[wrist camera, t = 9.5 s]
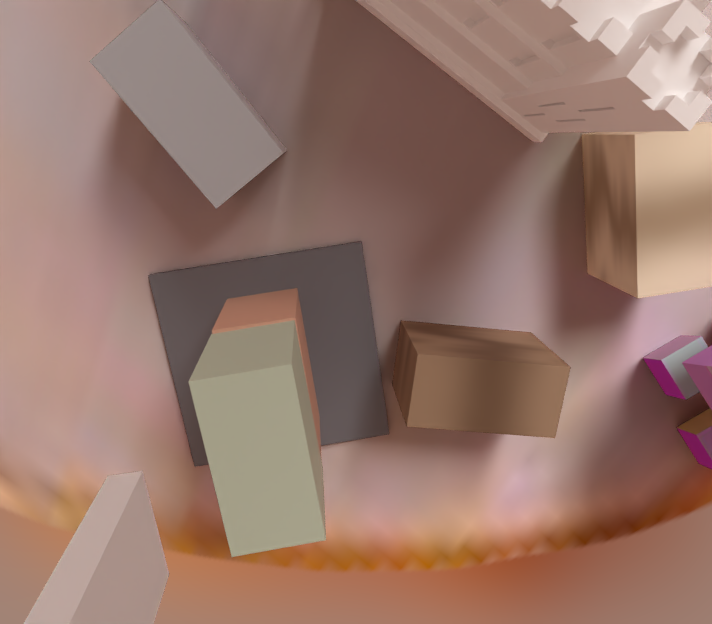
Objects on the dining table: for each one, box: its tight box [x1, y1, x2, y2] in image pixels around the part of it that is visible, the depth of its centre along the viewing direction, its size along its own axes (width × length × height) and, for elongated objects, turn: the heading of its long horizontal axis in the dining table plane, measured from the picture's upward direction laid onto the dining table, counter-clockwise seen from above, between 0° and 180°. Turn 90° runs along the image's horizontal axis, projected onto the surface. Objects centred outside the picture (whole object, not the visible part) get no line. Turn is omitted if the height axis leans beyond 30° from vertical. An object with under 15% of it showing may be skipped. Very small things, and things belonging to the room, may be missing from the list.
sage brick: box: [189, 320, 326, 557], centre depth 28 cm, size 8×4×6 cm, turn 9°
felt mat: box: [149, 241, 389, 466], centre depth 37 cm, size 12×12×1 cm
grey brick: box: [90, 0, 287, 209], centre depth 31 cm, size 8×4×6 cm, turn 38°
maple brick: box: [582, 122, 712, 298], centre depth 33 cm, size 8×4×6 cm, turn 8°
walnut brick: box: [392, 320, 571, 438], centre depth 35 cm, size 8×4×6 cm, turn 83°
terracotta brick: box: [212, 288, 321, 457], centre depth 34 cm, size 8×4×6 cm, turn 8°
